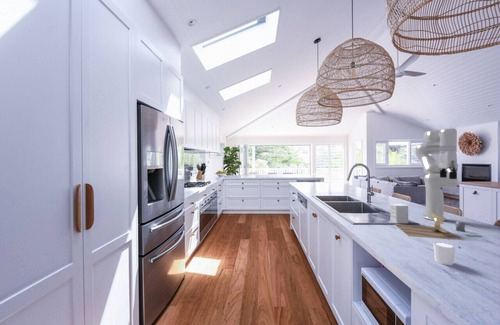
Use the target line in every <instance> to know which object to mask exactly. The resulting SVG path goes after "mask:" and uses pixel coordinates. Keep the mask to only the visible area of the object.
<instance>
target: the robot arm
mask: <svg viewBox="0 0 500 325" xmlns="http://www.w3.org/2000/svg"><path fill="white" fill-rule="evenodd" d="M457 136H458V133H457V129H456V128H451V127H450V128H443V129H438V130H436V129H435V130H428V131H425V132H424V134H423V138H422V140H423V142H424V143H419V144H417V145H416V146H415V148H414V149H415V155H416V157H417V159H418V161H419V162H420V163H421V166H422V169H423V173H424V174H425V175H424V178H423V180H424V185H425V214H424V215H422V218H424V219H426V220H430V221H433V220H432V213H437V214H439V215H441V216H443V217H444V222H445V221H447V220H448V219H447V218H446V217H445V216H444V215H445V214H444V213H445V212H444V209H445V208H444V206H445V205H444V204H445V202H444V201H445V200H444V192H443V191H442V189H440V188H446V189H447V188H451V189H452V188H456V187H458V184H459V180H458V176H457V174H458V167H459V164H458V158H457V152H458V151H457V150H458V148H457V147H458V146H457V143H458V142H457V141H458V140H457V139H458V137H457ZM432 155H439V156H438V162H437V161H436V160H437V159H436V158H434V156H432Z"/></svg>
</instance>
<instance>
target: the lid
mask: <svg viewBox="0 0 500 325" xmlns="http://www.w3.org/2000/svg"><path fill="white" fill-rule="evenodd" d="M449 228H450V229H453V230H454V231H457V232H458V233H460V234H463V235H464V236H466V237H474V238H475V237H478V238H482V235H481V234H480V233H478V232H475V231H473V230H471V229H468V228H466V222H465V221H461V220H457V221H456V220H455V227H451V226H450V227H449Z"/></svg>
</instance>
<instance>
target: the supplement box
mask: <svg viewBox="0 0 500 325" xmlns="http://www.w3.org/2000/svg"><path fill="white" fill-rule="evenodd" d="M389 206H390V207H389V209H390V214H389V216H390V218H389V219H390V221H391V222H393V223H394V224H409V205H407V204H403V203H390V205H389Z"/></svg>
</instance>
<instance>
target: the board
mask: <svg viewBox="0 0 500 325" xmlns="http://www.w3.org/2000/svg"><path fill="white" fill-rule="evenodd" d="M394 226H396V227H397V228H398V229H400V230H401V231H402V232H403V233H404V234H406V235H407V236H408V237H417V238H429V239H441V240H452V241H453V240H454V241H455V240H456V241H465V239H463V238H461V237H459V236H458V235H456V234H454V233H452V232H450V231H449V230H446V229H445V228H443V229H444V230H446V231H447V233H445V232H441V231H440V232H437V231H435V226H431V225H430V226H429V225H428V226H427V225H415V224H413V225H412V224H402V223H394Z"/></svg>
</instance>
